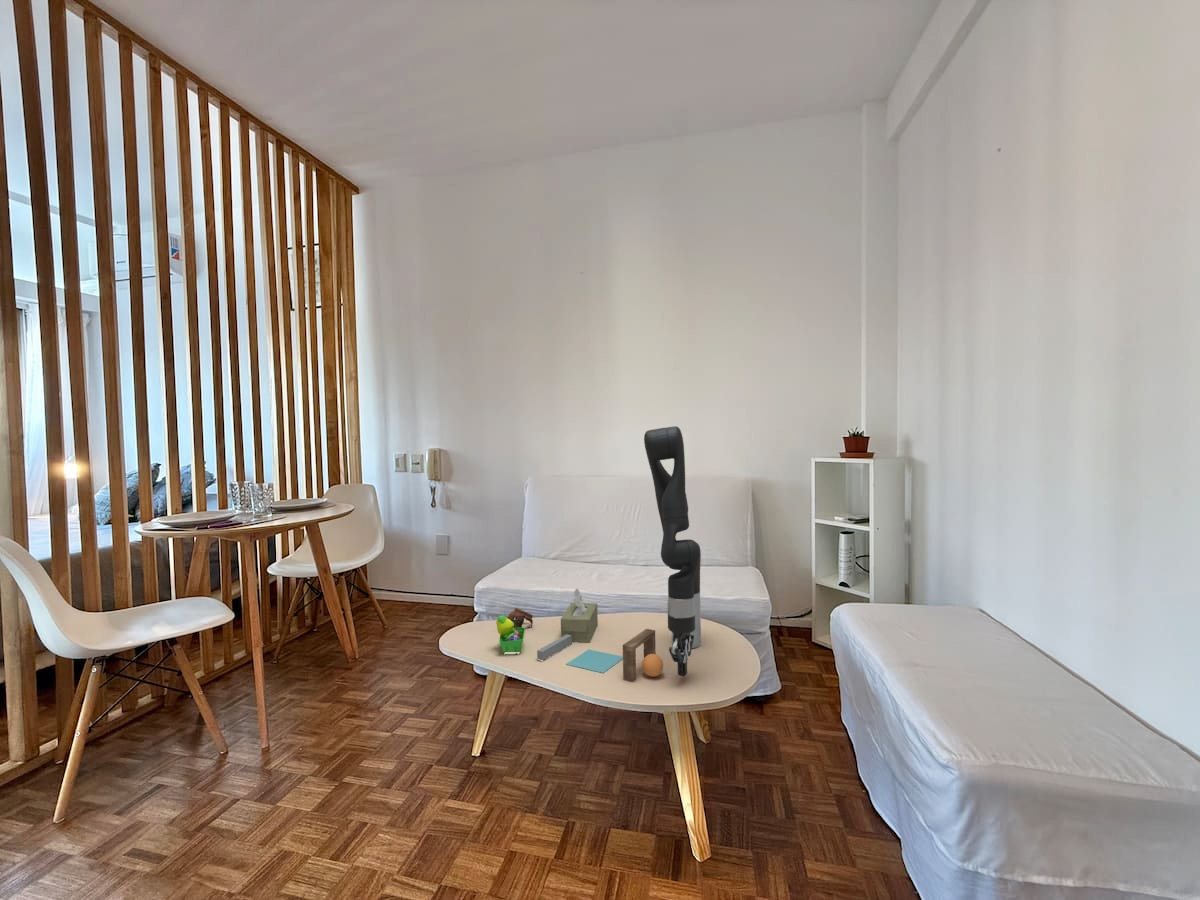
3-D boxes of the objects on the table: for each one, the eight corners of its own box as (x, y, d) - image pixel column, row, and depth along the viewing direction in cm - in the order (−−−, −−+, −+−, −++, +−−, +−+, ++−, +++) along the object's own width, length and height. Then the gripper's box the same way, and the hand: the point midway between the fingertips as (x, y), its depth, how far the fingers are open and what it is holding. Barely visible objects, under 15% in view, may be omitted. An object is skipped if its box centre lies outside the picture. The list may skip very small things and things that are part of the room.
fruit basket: (523, 655, 168) (523, 619, 168) (495, 657, 167) (494, 621, 167) (525, 642, 179) (524, 608, 179) (498, 644, 178) (497, 610, 178)
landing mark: (588, 649, 172) (588, 649, 172) (624, 657, 165) (624, 656, 165) (565, 664, 160) (565, 664, 160) (603, 673, 154) (603, 672, 154)
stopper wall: (566, 643, 178) (566, 634, 178) (571, 644, 177) (571, 635, 177) (537, 660, 164) (537, 650, 164) (542, 661, 163) (542, 651, 163)
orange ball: (661, 649, 154) (667, 670, 153) (641, 653, 156) (647, 674, 155) (657, 655, 148) (664, 677, 147) (637, 660, 150) (643, 681, 149)
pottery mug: (502, 627, 196) (511, 605, 199) (525, 637, 197) (535, 616, 200) (503, 629, 185) (513, 606, 187) (528, 640, 186) (538, 617, 188)
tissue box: (571, 624, 197) (570, 581, 197) (597, 625, 196) (597, 581, 196) (560, 643, 179) (559, 595, 178) (589, 644, 177) (588, 596, 177)
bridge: (623, 679, 149) (622, 645, 149) (646, 660, 162) (646, 628, 162) (632, 682, 148) (632, 647, 148) (655, 662, 161) (655, 630, 161)
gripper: (677, 604, 156) (678, 663, 156) (658, 617, 144) (660, 681, 145) (702, 607, 152) (703, 668, 152) (685, 621, 141) (686, 687, 141)
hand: (682, 674), depth 148 cm, fingers closed
